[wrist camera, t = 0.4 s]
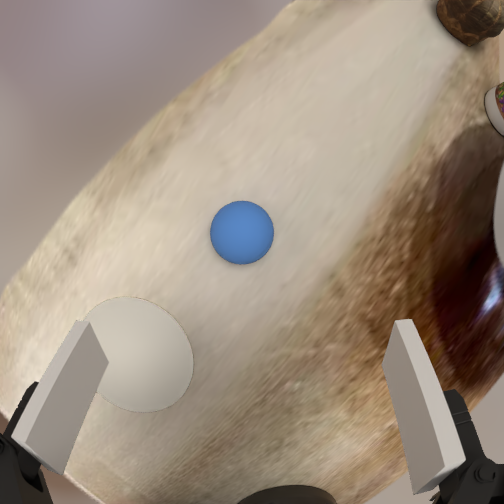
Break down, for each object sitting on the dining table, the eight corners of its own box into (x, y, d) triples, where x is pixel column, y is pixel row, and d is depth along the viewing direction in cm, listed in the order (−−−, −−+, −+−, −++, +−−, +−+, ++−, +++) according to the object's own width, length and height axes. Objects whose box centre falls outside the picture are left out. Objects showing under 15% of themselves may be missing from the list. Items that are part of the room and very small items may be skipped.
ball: (263, 267, 31) (270, 272, 26) (206, 256, 31) (201, 258, 25) (274, 211, 31) (284, 204, 26) (218, 199, 31) (216, 190, 25)
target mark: (184, 423, 31) (184, 424, 31) (76, 392, 30) (75, 393, 30) (203, 312, 31) (203, 313, 31) (83, 283, 30) (82, 283, 30)
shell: (414, -8, 32) (449, -51, 20) (462, 6, 33) (498, -28, 21) (442, 45, 32) (488, 5, 20) (488, 56, 33) (533, 26, 21)
